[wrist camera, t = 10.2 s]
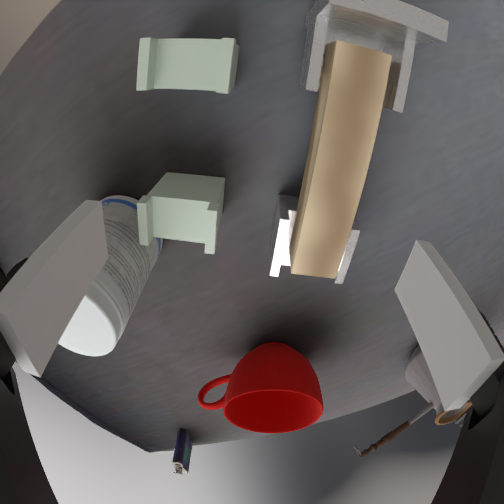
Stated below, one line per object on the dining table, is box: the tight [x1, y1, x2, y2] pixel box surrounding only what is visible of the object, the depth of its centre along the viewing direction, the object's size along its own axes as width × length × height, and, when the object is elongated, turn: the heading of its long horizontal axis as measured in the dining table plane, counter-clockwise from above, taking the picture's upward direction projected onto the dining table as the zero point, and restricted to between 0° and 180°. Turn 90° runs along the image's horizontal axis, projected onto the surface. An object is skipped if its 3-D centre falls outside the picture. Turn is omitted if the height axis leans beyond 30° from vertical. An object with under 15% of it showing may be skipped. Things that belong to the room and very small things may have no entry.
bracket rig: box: [270, 0, 449, 284], centre depth 23 cm, size 7×24×12 cm, turn 173°
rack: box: [136, 38, 240, 254], centre depth 25 cm, size 7×17×8 cm, turn 173°
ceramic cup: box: [198, 342, 323, 433], centre depth 41 cm, size 13×17×10 cm
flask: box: [173, 429, 193, 475], centre depth 60 cm, size 9×3×11 cm, turn 1°
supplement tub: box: [58, 195, 163, 356], centre depth 28 cm, size 10×10×15 cm
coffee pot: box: [355, 345, 472, 457], centre depth 39 cm, size 21×12×15 cm, turn 112°
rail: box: [289, 40, 392, 279], centre depth 23 cm, size 4×19×4 cm, turn 174°
